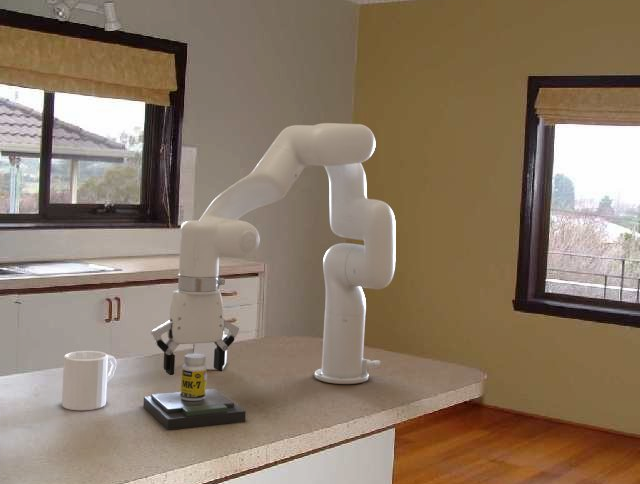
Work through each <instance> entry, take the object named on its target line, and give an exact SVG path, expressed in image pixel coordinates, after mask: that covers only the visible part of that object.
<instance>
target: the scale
mask: <svg viewBox="0 0 640 484" xmlns="http://www.w3.org/2000/svg"><path fill="white" fill-rule="evenodd" d="M142 405H143V408H144V409H145V410H146V411H147V412H148V414H150V415H151V416H152V417H153V418H155V419H156V420H157V422H159V423H160V424H161V425H162V426H163V428H165V429H166V430H167V431H173V430H180V429H190V428H199V427H206V426H207V427H208V426H216V425H226V424H235V423H243V422H244V423H245V422H246V413H247V411H246V410H244V408H242V407H241V406H239V405H238V404H236V403H235V402H234V407H227V406H225V405H224V404H219V405H209V406H199V407H188V408H183V411H182V412H176V413H167V412H166V411H165V410H164V409H163V408H162V407H160V406H159V405H158V404H157V403H156V402H155V401H154V400H153V399H152V398H151V395H148V396H143V404H142Z"/></svg>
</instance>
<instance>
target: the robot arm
mask: <svg viewBox="0 0 640 484" xmlns="http://www.w3.org/2000/svg"><path fill="white" fill-rule="evenodd" d="M375 148H376V137H375V135H374V132H373V131H372V130H371V129H370V127H368V126H367V125H364V124H363V123H340V122H339V123H338V122H335V123H334V122H323V123H316V124H313V125H311V124H308V125H307V124H294V125H289V126H287V127H285V128H284V129H282V130H281V131H280V132H279V134H278V136H276V138H275V139H274V141H273V142H272V144H271V145H270V146H269V148H268V149H267V151H266V152H265V153H264V154H263V156H262V157H261V159H260V160H259V162H257V164H256V166H255V167H254V168H253V170H252V171H251V172H250V173H249V174H248V175H246V176H244V177H242V178H241V179H239V180H238V181H236V182H235V183H234V184H232V185H230V186H229V187H227V189H225V190H223V191H222V192H221V193H219V195H217V196H216V197H215V198H214V199H213V200H212V201H211V203H210V204H209V205H208V206H207V208H206V209H205V211H204V212H203V213H202V215H201V217H200V218H199V219H198V220H187V221H185V222H183V223H182V224H181V226H180V239H179V240H180V241H179V261H178V262H179V263H178V284H177V289H176V290H175V289H174V290H173V292H172V296H171V300H170V304H169V312H168V317H167V321H166V322H165V323H163V324H161V325H159V326H157V327H156V328H154V329H153V330H151V331H150V335H151V337H152V339H153V341H154V343H155V345H156V347H158V348H159V349H160V350H161V351H162V352H163V370H164V371H165V372H166V374H168V375H169V376H173V375H175V363H176V355H175V354H174V351H175V350H176V349H177V348H178V346H180V345H194V344H196V343H211V342H214V343H215V344H216V346H217V348H215V350H214V368H215V369H216V370H215V371H218V372H223V370H222V368H223V366H224V364H225V351H226V350H227V351H228V349H229V347H230V346H231V345H232V344H233V343H234V341H235V338H236V337H237V335H238V334H239V331H240V327H239V326H237V325H235V324H233V323H231V322H229V321H227V320H226V319H225V318H224V308H223V307H224V305H223V298H222V297H223V296H222V292H221V291H220V290H219V289H220V286H223V285H225V284H226V280H225V277H220V275H219V270H220V258H232V259H243V258H247V257H250V256H251V255H253V254H254V253H255V252H256V251H257V250H258V248H259V246H260V242H261V241H260V240H261V237H260V233H259V230H257V228H256V227H255V226H254V225H253V224H251V223H250V222H247V221H244V220H239V219H241V218H242V217H243V216H244V215H246V214H247V213H249V212H251V211H253V210H255V209H258V208H262V207H264V206H269V205H270V204H273V203H276V202H278V201H281V200H282V199H284V198H285V197H286V196H287V194H288V193H289V191H290V190H291V188H292V186H293V185H294V183H295V182H296V181H297V179H298V178H299V176H300V175H301V173H302V172H303V171H304V169H305V168H306V167H307V166H315V167H316V166H317V167H324V169H325V172H326V174H327V177H328V183H329V184H328V185H329V225H330V229H331V231H332V233H333V234H334V235H336V236H338V237H340V238H344V239H351V240H358V241H363V244H357V243H349V242H341V243H336V244H334V245H332V246H330V247H329V248H328V249H327V250H326V252H325V254H324V256H323V260H322V266H323V267H322V268H323V269H322V271H323V279H324V286H325V299H324V300H325V304H324V305H325V306H324V319H323V323H324V324H323V337H322V355H321V356H322V357H321V368H318V369H316V370H315V371H314V379H317V380H318V381H320V382H323V383H329V384H336V385H337V384H338V385H355V384H361V383H365V382H366V381H369V373H368V371H369V370H370V369H373V370H374V369H375V370H376V369H381V367H382V363H381V361H380V359H377V360H370V359H366V358H364V345H365V329H366V327H365V326H366V313H367V302H366V297H365V293H364V291H363V288H364V289H369V290H370V289H371V290H383V289H384V288H386V287H388V286H389V285H390V284H391V283H392V280H393V279H394V274H395V271H396V270H395V269H396V219H395V218H396V217H395V214H394V211H393V209H392V208H391V206H390V205H389V204H388V203H387V202H385V201H383V200H380V199H373V198H368V196H367V195H368V194H367V176H366V172H365V169H364V166H363V164H362V163H365V162H366V161H368V160H369V159H370V158H371V157H372V155H373V154H374V152H375ZM223 318H224V319H225V320H224V319H223ZM225 329H227V330H228V334H226V335H227V336H226V337H225V338H224V339H223V340H222V337H223V330H224V331H225ZM165 333H166V337H167V338H168V340H167V341H166V342H164V340H163V338H162V335H163V334H165ZM225 365H226V364H225ZM224 367H225V366H224ZM223 369H224V368H223Z"/></svg>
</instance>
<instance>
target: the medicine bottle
mask: <svg viewBox="0 0 640 484" xmlns="http://www.w3.org/2000/svg"><path fill="white" fill-rule="evenodd" d="M223 319H224V320H225V321H226V319H225V318H224V317H223ZM227 335H228V334H225V329H224V330H223V337H222V340H223V339H224V338H225V337H226V336H227ZM192 347H193V349H192V354H202V355H205V356H206V358H205V361H206V362H205V364H204V365H206V367H207V371H208V370H209V371H210V370H211V371H217V370H216V369H215V368H214V350H215V348H217V346H216V344H215V343H214V342H211V343H196V344H192ZM227 356H228V349H227V350H226V351H225V364H224V366H223V368H222V371H223V370H224V368H225V366H226V365H227V358H228V357H227Z"/></svg>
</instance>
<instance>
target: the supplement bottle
mask: <svg viewBox="0 0 640 484" xmlns="http://www.w3.org/2000/svg"><path fill="white" fill-rule="evenodd" d="M205 358H206V356H205V355H202V354H193V353H187V354H185V355H184V359H183V361H184V362H183V363H184V364H183V365H182V366H181V378H180V379H181V380H180V392H181V393H180V397H181V399H183V400H186V401H200V400H203V399H204V398H205V392H206V389H207V377H208V376H207V374H208V369H207V367H206V365H204V364H205V362H206V361H205Z"/></svg>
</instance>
